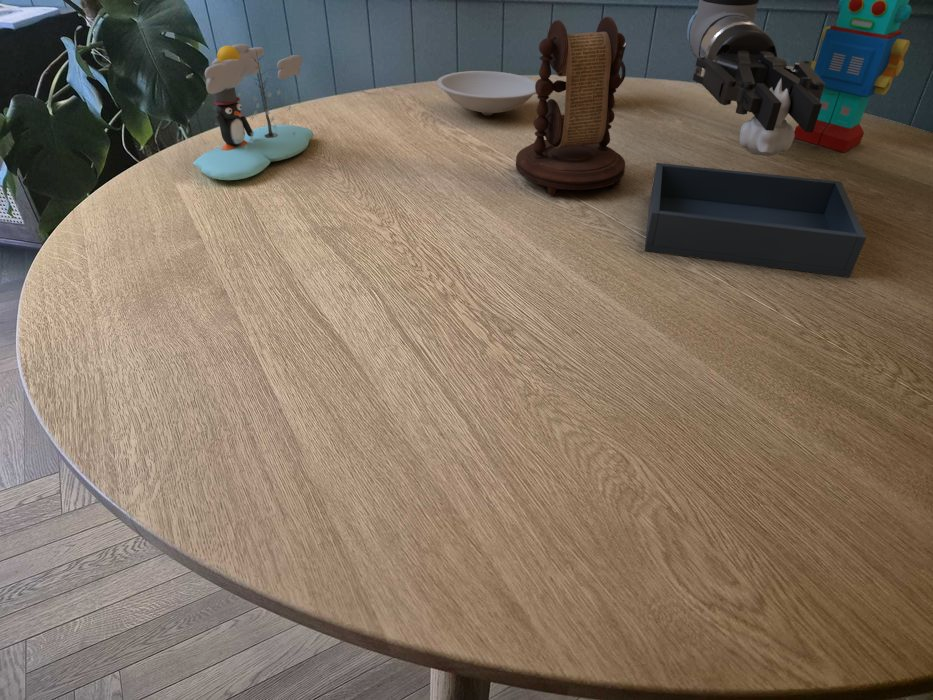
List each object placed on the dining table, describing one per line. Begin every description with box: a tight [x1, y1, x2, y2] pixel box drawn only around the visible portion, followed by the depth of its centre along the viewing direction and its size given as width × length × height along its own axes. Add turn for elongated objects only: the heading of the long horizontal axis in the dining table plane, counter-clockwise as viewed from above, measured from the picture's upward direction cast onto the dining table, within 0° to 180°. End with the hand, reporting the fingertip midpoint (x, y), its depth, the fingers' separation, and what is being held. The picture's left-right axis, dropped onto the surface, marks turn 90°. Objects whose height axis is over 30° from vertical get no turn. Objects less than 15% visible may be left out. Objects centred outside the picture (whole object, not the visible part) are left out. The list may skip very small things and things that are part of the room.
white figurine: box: [739, 79, 795, 157], centre depth 70 cm, size 5×7×8 cm
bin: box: [644, 162, 867, 278], centre depth 77 cm, size 22×15×5 cm
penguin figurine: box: [192, 43, 314, 181], centre depth 91 cm, size 20×11×15 cm, turn 152°
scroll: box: [515, 16, 626, 197], centre depth 85 cm, size 15×15×20 cm
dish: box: [436, 70, 537, 116], centre depth 111 cm, size 18×14×5 cm
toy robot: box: [794, 0, 912, 153], centre depth 95 cm, size 12×6×25 cm, turn 42°
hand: (793, 117), depth 65 cm, fingers closed on white figurine, 3 cm apart
